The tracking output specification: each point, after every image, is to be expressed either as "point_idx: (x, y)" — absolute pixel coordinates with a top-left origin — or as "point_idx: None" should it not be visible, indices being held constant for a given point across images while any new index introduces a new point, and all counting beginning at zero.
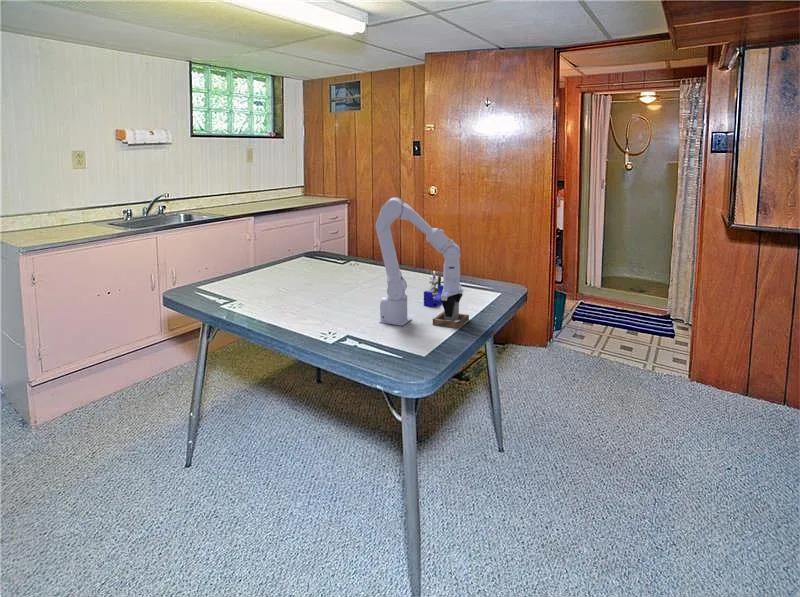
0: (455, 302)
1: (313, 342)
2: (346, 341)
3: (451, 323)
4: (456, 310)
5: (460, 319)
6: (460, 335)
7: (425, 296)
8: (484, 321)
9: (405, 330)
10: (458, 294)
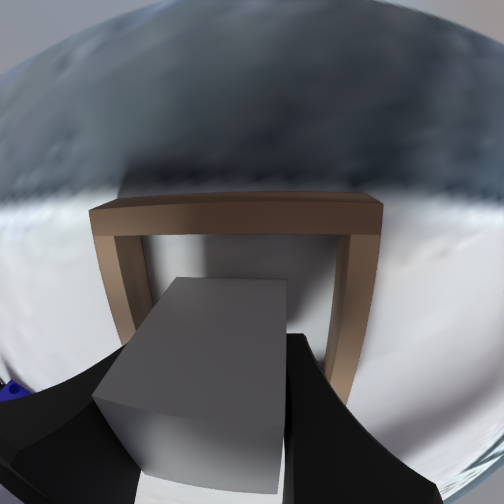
0: (142, 431)
1: (490, 469)
2: (500, 449)
3: (370, 281)
4: (219, 341)
5: (143, 264)
6: (487, 142)
7: None
8: (92, 80)
9: (438, 425)
10: (34, 487)
